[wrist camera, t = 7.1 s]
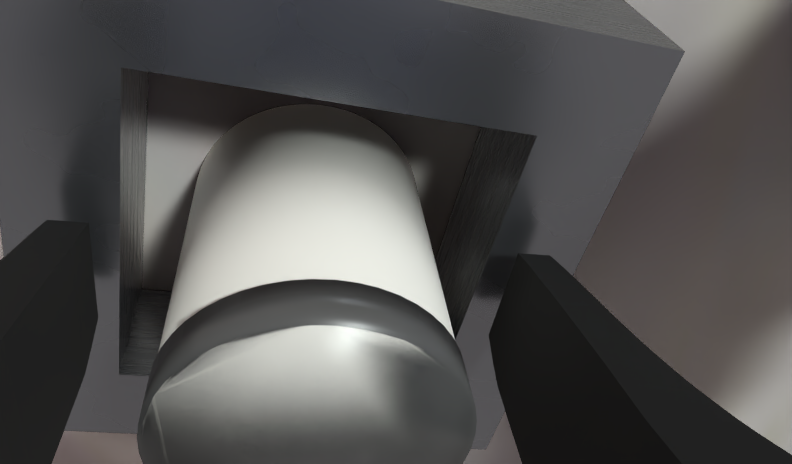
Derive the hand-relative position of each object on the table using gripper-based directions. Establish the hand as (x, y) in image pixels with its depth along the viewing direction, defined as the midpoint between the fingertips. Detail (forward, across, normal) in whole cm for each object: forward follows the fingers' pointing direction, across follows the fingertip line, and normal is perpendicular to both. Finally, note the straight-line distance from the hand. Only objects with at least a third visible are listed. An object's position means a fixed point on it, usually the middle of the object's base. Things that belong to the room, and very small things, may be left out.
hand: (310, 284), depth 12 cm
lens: (+3, 0, 0) cm, 3 cm away
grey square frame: (+3, 0, 0) cm, 3 cm away
